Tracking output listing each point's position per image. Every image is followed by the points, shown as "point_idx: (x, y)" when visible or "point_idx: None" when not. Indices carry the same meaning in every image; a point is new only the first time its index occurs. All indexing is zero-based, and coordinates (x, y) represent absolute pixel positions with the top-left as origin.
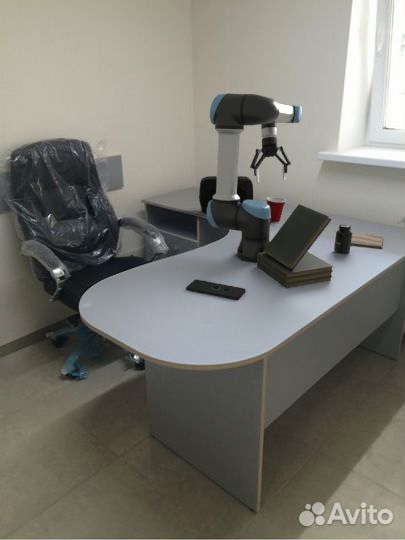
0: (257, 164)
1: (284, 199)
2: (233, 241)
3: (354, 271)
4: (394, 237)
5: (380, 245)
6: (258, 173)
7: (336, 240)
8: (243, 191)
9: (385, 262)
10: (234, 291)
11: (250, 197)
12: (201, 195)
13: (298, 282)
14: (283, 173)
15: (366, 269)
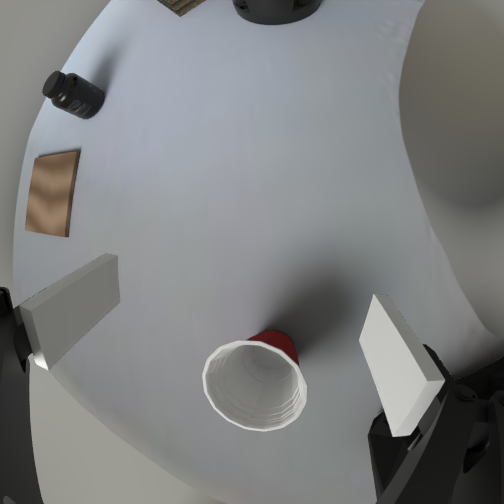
0: (446, 438)
1: (215, 404)
2: (367, 65)
3: (100, 31)
4: (17, 242)
5: (35, 163)
6: (388, 383)
7: (87, 82)
8: None
9: None
10: None
11: (384, 448)
12: None
13: None
14: (75, 275)
15: (83, 48)
